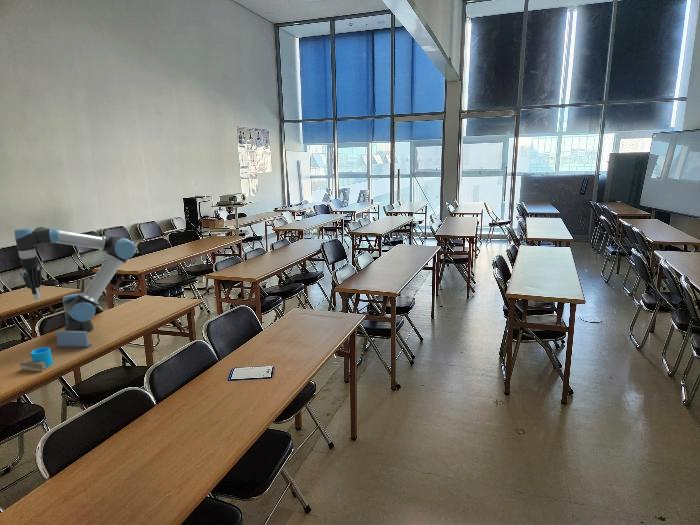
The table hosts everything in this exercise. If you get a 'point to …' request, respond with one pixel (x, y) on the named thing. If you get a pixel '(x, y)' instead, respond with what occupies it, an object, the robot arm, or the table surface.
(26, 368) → the block
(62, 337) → the screen
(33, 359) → the mug
